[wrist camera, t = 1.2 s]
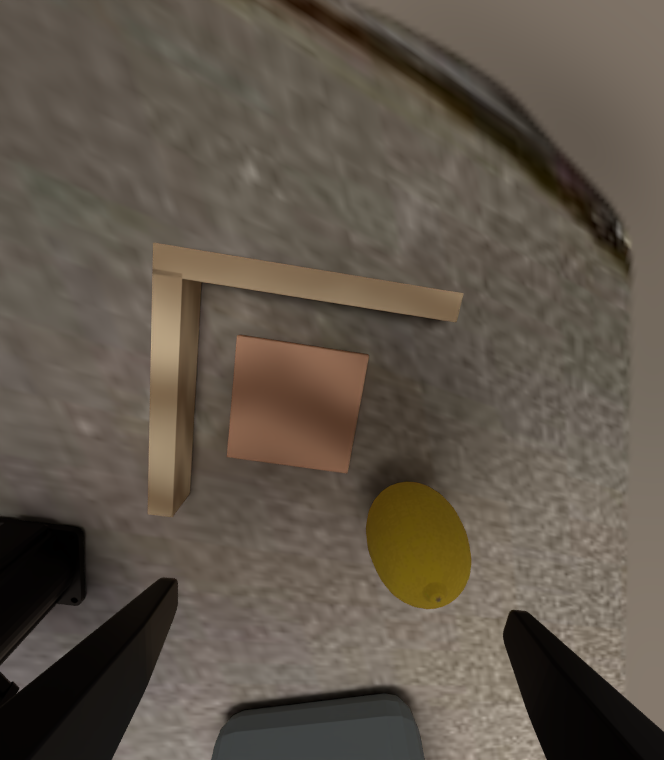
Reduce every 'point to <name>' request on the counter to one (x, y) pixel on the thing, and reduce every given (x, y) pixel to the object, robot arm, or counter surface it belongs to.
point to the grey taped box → (323, 731)
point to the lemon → (418, 545)
